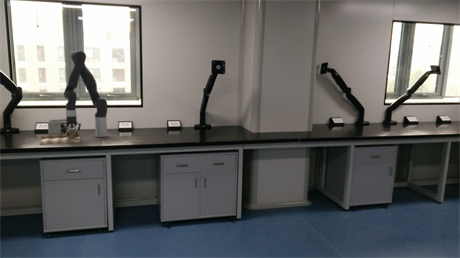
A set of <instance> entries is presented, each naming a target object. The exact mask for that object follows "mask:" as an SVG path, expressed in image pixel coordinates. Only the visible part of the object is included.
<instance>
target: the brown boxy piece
mask: <svg viewBox="0 0 460 258" xmlns="http://www.w3.org/2000/svg"><path fill="white" fill-rule="evenodd" d="M73 137H76V130H75V128H73V129H69V138H73Z"/></svg>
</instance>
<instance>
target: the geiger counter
mask: <svg viewBox="0 0 460 258" xmlns="http://www.w3.org/2000/svg"><path fill="white" fill-rule="evenodd" d="M66 122H67V119H66V118H54V119H50V120H49V121H48V122H47V131H48V134H47V135H48V136H49V135H67V131H65V130H64V127H63V124H66ZM78 127H79V126H78V124H77V125H76V128H78ZM65 128H66V130H67V129H68V126H67V125H66V126H65ZM70 129H74V128H70Z"/></svg>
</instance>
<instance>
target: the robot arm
mask: <svg viewBox="0 0 460 258" xmlns="http://www.w3.org/2000/svg"><path fill="white" fill-rule="evenodd" d="M70 58H71V60H72V62H73V64H74V65H73V66H74V67H73V69H72V70H71V73H70V74H69V77H68V80H67V85H66V86H65V90H64V92H63V96H64V98H65V99H66V100H67V102H66V104H65V111H66V112H65V113H66V114H65V117H66V118H65V119H67V122H66V124H63V127H64V130H65V131H67V134H66V135H68V136H69V129H70V128H73V129H75V130H76V136H77V135H78V134H79V133H78V132H79V131H80V130H81V127H82V126H81V125H82V124H81V123H80V122H77V121H78V119H77V108H76V105H77V98H78V96H77V93H76V92H75V89H77V87H78V85H79V81H80V80H79V79H80V78H81V80H82V82H83V85H84V86H85V87H86V90H87V93H88V94H89V97H90V99H91V102H92V105H93V107H94V108H96V113H94V122H95V123H94V124H95V125H94V126H95V137H96V138H104V137H106V138H107V137H108V124H107V123H108V120H107V114H108V101H107V100H106V99H105V98H102V97H101V96H100V94H99V92H98V87H97V81H96V79H95V77H94V75H93V73H92V72H91V71H90V70H89V68H88V67H87V65H86V64H85V62H86V60H87V55H86V53H85V52H84V51H83V50H73V51H72V52H71V54H70ZM66 125H67V126H68V129H67V130H66V128H65V126H66ZM76 125H77V126H78V127H77V126H76Z"/></svg>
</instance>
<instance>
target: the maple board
mask: <svg viewBox="0 0 460 258" xmlns="http://www.w3.org/2000/svg"><path fill="white" fill-rule="evenodd" d="M58 143H59V144H71V143H72V144H73V143H81V136H80V133H78V135H77V136H76V137H73V138H69V136H68V135H67V134H61V135H49V134H48V135H42V136H41V141H40V145H55V144H56V145H57V144H58Z"/></svg>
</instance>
